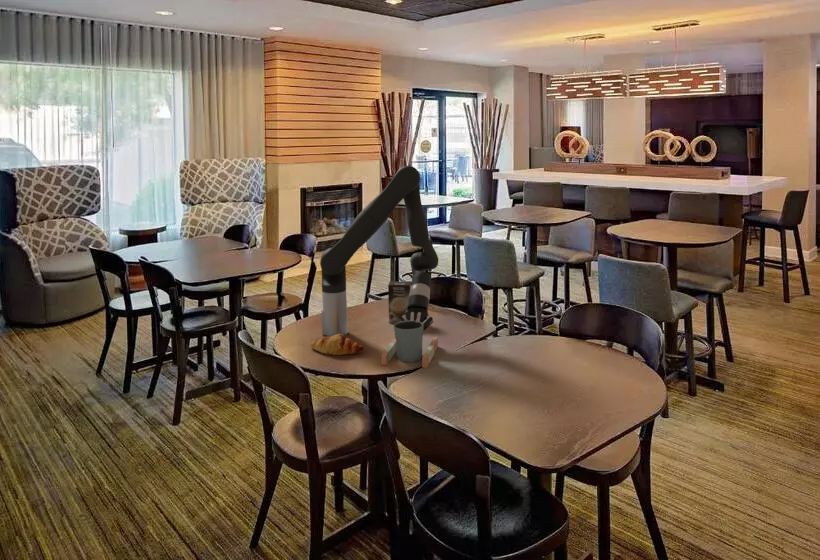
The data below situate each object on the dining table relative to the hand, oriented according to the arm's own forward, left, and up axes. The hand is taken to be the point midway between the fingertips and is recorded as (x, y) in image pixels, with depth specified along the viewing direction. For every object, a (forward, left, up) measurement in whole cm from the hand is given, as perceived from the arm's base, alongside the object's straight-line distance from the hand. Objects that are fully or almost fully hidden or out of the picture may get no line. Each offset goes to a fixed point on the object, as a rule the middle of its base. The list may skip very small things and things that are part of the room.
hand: (413, 341), depth 237 cm
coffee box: (-13, +37, -4) cm, 40 cm away
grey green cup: (0, -5, -4) cm, 7 cm away
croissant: (-27, -2, -5) cm, 28 cm away
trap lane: (0, -3, -4) cm, 5 cm away
